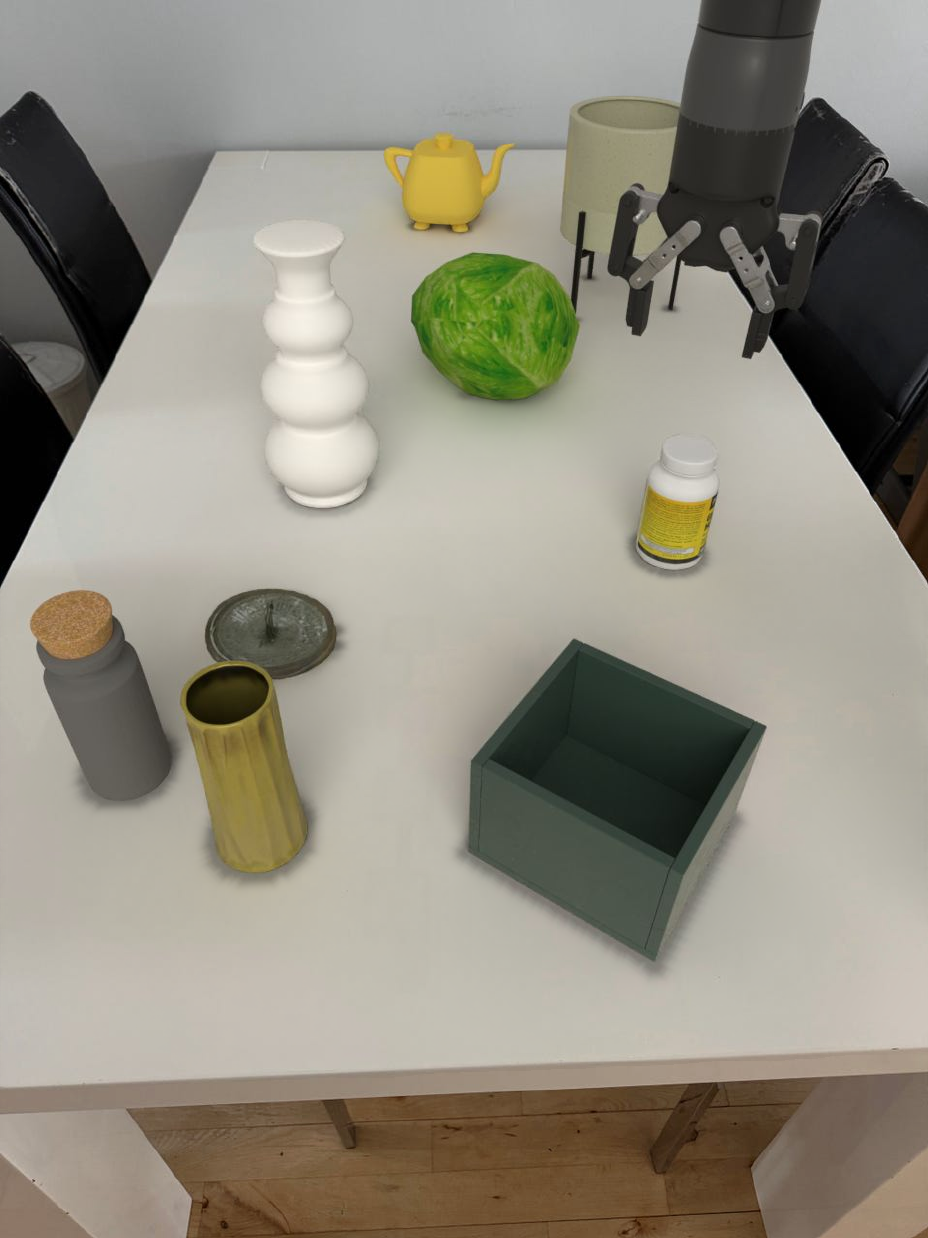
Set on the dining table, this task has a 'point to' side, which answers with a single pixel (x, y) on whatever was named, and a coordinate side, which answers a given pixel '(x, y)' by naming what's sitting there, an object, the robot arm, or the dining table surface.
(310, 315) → the vase
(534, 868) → the open box
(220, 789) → the vase
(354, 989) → the dining table surface
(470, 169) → the teapot
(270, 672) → the lid
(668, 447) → the pill bottle
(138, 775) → the bottle
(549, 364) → the lettuce
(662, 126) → the planter
